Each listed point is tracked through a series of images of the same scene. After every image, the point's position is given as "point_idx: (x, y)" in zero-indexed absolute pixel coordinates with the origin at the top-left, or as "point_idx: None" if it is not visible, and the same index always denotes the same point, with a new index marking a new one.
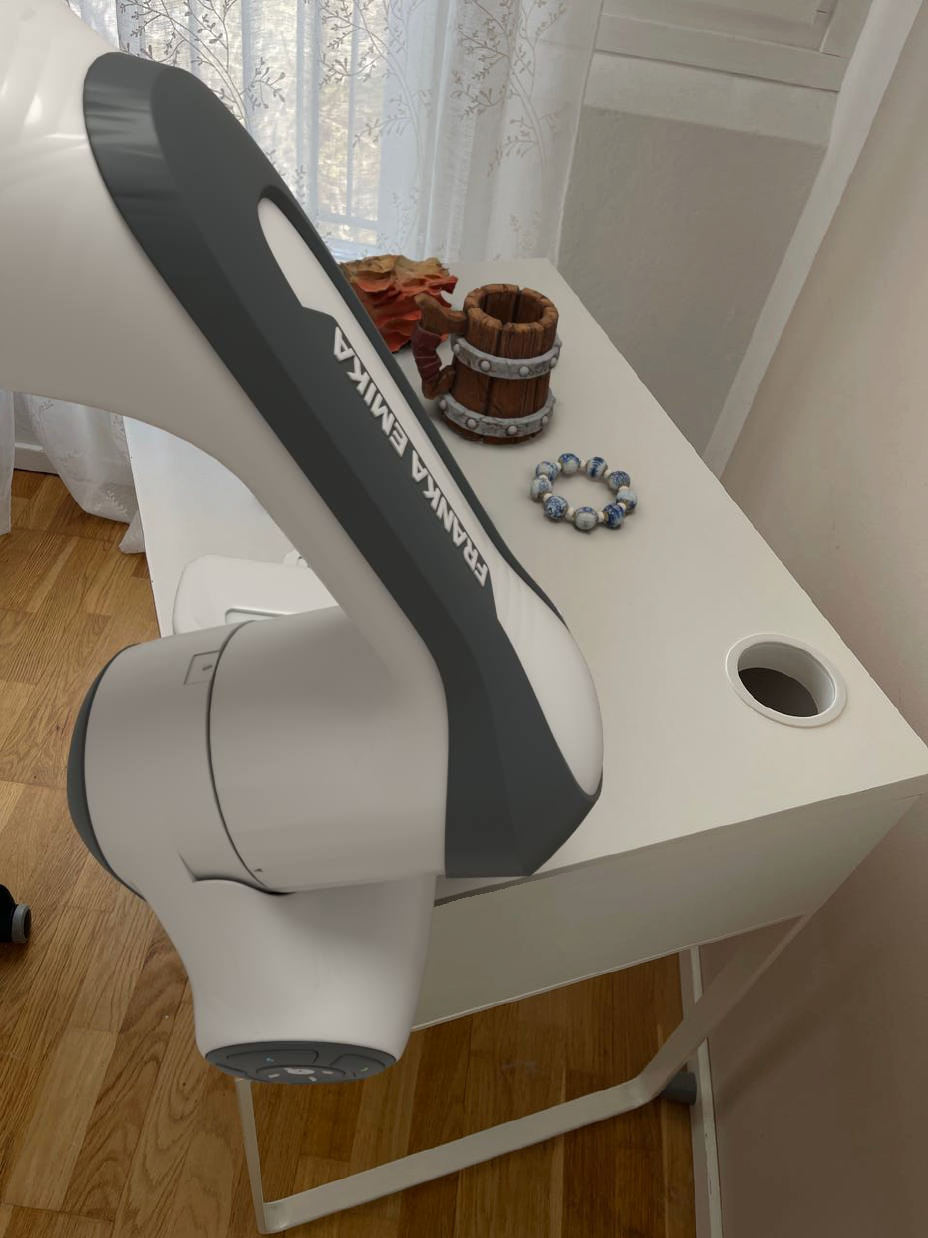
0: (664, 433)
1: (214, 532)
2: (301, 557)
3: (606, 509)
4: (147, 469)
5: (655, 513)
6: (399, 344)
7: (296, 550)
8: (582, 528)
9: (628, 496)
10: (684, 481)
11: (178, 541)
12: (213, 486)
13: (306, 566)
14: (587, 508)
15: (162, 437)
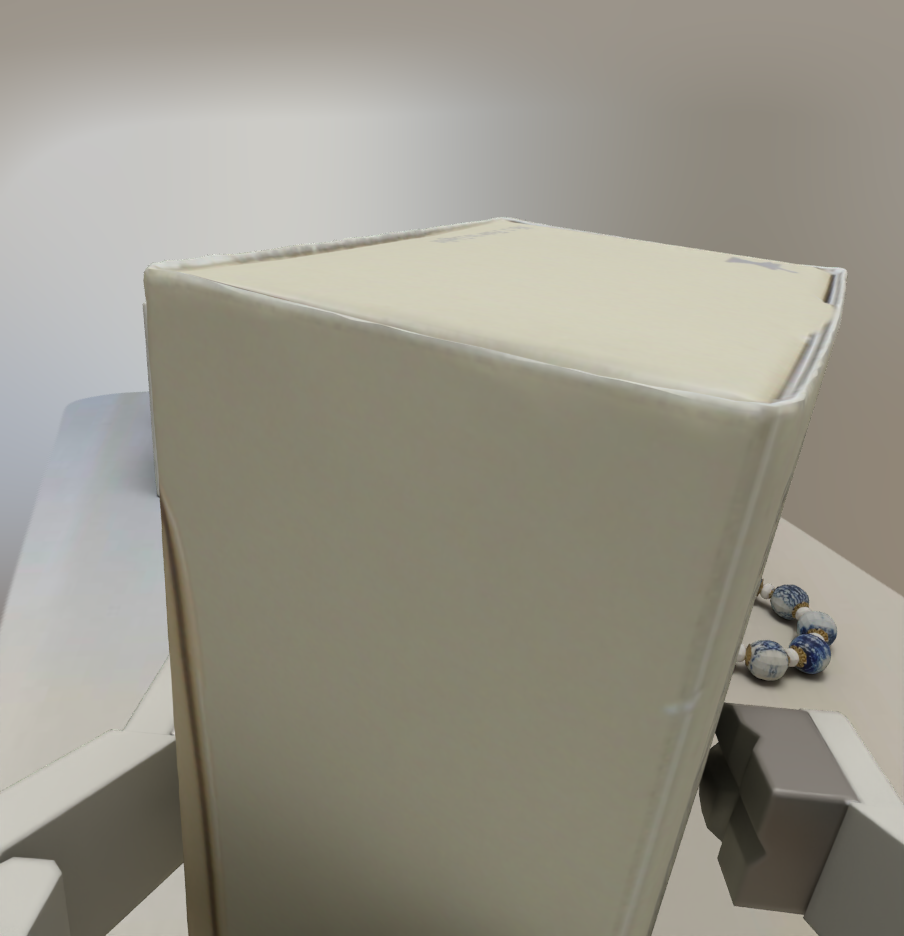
0: (807, 540)
1: (95, 710)
2: (28, 847)
3: (799, 644)
4: (14, 602)
5: (864, 650)
6: None
7: (13, 798)
8: (765, 679)
9: (823, 622)
10: (876, 601)
11: (15, 731)
12: (121, 627)
13: (23, 926)
14: (770, 642)
15: (61, 556)
